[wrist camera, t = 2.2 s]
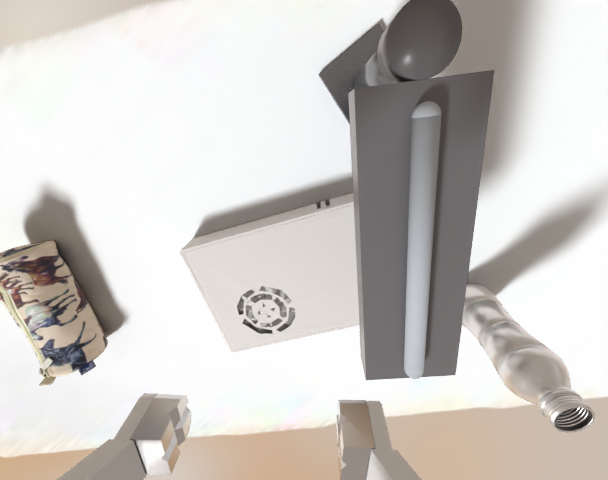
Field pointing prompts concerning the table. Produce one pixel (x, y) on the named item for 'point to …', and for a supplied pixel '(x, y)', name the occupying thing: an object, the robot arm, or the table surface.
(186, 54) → the table surface
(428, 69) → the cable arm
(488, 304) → the plastic bottle
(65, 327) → the pencil case
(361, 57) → the post
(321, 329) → the power supply unit
